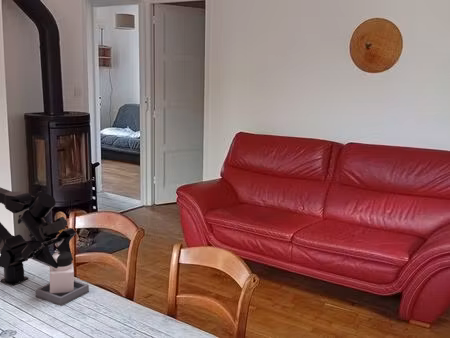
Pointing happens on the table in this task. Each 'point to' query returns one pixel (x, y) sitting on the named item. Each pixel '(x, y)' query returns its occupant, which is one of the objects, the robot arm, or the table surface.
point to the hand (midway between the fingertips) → (64, 264)
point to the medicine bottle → (62, 273)
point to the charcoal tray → (62, 297)
